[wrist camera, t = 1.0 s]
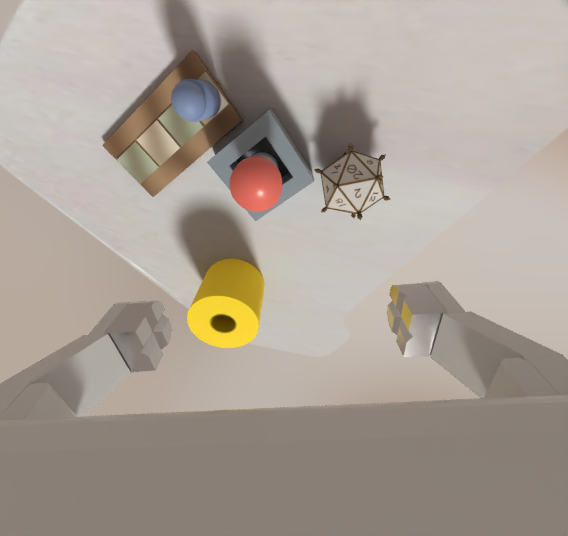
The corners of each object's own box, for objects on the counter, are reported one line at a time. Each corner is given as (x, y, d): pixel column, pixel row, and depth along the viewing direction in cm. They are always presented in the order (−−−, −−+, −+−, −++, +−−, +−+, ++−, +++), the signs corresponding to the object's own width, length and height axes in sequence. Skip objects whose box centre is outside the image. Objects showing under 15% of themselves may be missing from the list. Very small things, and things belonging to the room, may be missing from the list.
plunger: (266, 136, 31) (260, 147, 25) (292, 174, 33) (292, 193, 27) (231, 164, 33) (218, 180, 27) (258, 198, 35) (252, 220, 29)
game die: (328, 170, 39) (288, 170, 32) (382, 133, 34) (349, 122, 26) (354, 226, 39) (320, 238, 32) (412, 197, 34) (387, 205, 26)
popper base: (271, 108, 32) (268, 110, 29) (312, 172, 36) (314, 181, 33) (215, 155, 35) (207, 162, 32) (258, 209, 39) (255, 221, 36)
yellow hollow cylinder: (214, 308, 50) (199, 350, 42) (197, 262, 44) (176, 299, 36) (268, 303, 49) (264, 345, 41) (258, 255, 43) (250, 292, 35)
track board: (194, 51, 29) (191, 49, 29) (242, 119, 33) (241, 120, 32) (105, 144, 35) (101, 145, 34) (155, 195, 38) (152, 197, 37)
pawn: (205, 72, 30) (182, 67, 23) (227, 103, 31) (211, 107, 25) (182, 95, 31) (154, 96, 25) (205, 124, 32) (184, 132, 26)
